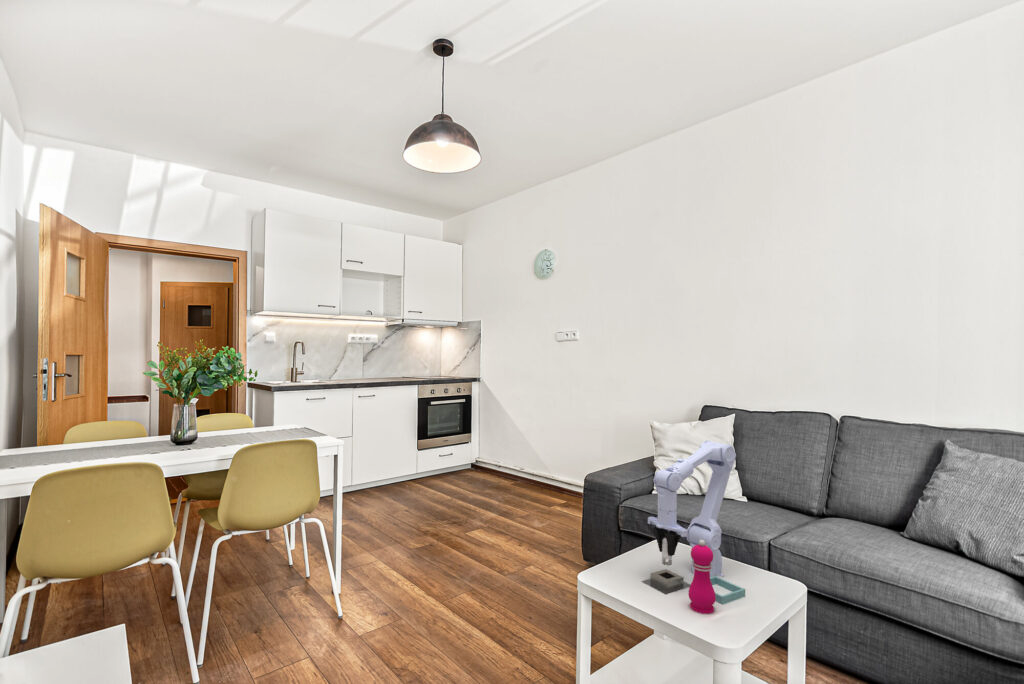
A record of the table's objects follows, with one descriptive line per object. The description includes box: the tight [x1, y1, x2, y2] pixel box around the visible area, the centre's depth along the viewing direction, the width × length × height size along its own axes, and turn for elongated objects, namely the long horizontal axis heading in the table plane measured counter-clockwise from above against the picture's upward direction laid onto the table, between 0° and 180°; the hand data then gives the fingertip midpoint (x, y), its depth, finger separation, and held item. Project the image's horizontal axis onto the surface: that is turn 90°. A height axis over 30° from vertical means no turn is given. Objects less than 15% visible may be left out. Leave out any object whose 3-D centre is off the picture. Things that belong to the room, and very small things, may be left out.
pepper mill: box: [687, 540, 716, 615], centre depth 141 cm, size 7×7×20 cm
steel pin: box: [661, 536, 673, 566], centre depth 156 cm, size 3×3×8 cm
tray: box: [710, 575, 746, 605], centre depth 150 cm, size 10×10×3 cm
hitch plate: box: [640, 569, 691, 595], centre depth 156 cm, size 12×10×4 cm
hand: (666, 553), depth 156 cm, fingers closed on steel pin, 3 cm apart
